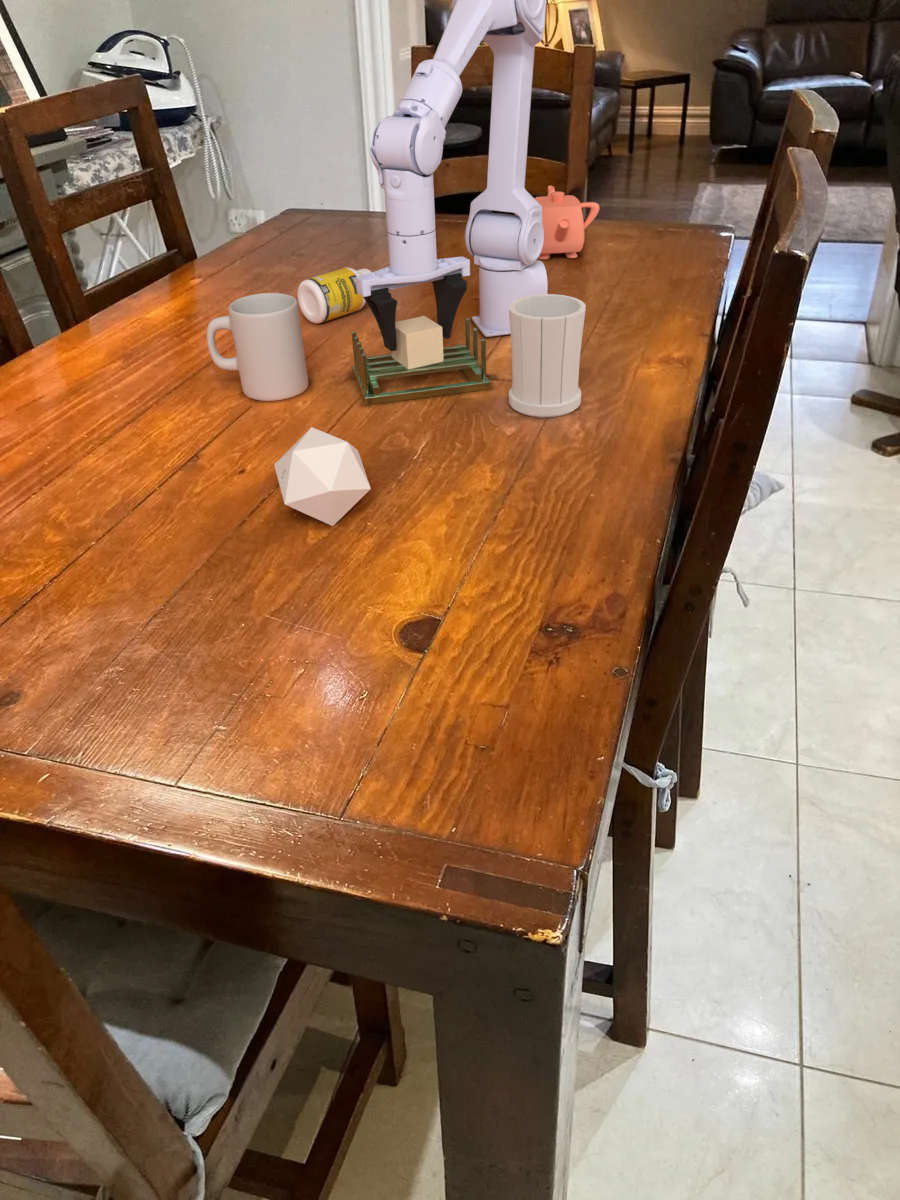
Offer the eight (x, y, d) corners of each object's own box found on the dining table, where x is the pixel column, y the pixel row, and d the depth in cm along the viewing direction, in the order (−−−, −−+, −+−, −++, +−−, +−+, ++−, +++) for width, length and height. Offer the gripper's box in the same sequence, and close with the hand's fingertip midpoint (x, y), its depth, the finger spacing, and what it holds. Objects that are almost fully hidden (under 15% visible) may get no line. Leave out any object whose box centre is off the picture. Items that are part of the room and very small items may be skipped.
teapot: (609, 253, 164) (612, 191, 158) (563, 268, 158) (565, 205, 152) (549, 239, 173) (550, 180, 167) (503, 253, 167) (503, 192, 161)
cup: (490, 392, 117) (489, 297, 110) (554, 379, 120) (557, 285, 113) (528, 425, 109) (530, 323, 102) (596, 409, 112) (602, 310, 105)
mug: (313, 374, 124) (302, 291, 118) (304, 400, 117) (292, 313, 111) (223, 377, 124) (207, 294, 118) (209, 403, 117) (192, 317, 111)
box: (426, 349, 122) (424, 315, 120) (443, 361, 119) (442, 326, 116) (391, 357, 120) (389, 323, 118) (408, 369, 117) (406, 334, 114)
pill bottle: (310, 274, 135) (371, 255, 141) (289, 288, 140) (348, 269, 146) (328, 318, 136) (387, 297, 143) (307, 330, 141) (365, 309, 148)
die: (305, 490, 99) (247, 442, 91) (374, 448, 97) (321, 395, 89) (322, 552, 95) (263, 508, 87) (396, 509, 93) (342, 459, 85)
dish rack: (469, 358, 127) (468, 314, 123) (490, 389, 118) (490, 343, 114) (352, 372, 124) (348, 328, 120) (366, 405, 115) (361, 358, 112)
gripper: (449, 213, 116) (453, 321, 123) (341, 232, 110) (352, 344, 118) (477, 225, 110) (479, 337, 118) (365, 246, 105) (375, 361, 113)
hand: (417, 342), depth 118 cm, fingers open, 7 cm apart
